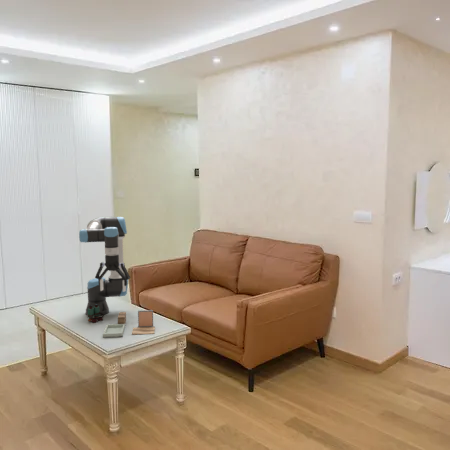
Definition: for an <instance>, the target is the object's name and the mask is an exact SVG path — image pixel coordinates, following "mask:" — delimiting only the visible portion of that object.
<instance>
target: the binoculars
mask: <svg viewBox="0 0 450 450" xmlns="http://www.w3.org/2000/svg"><path fill="white" fill-rule="evenodd" d="M89 307H90V308H89V309H88V315H87V318H88V322H91V323H97V322H101V321H103V320H104V319H103V318H104V317H105V316H104V315H105V314H103V313H100V309H99V306H98V303H96V304H95V307H93V306H92V305H89ZM92 307H93V308H92ZM100 314H101V315H100Z"/></svg>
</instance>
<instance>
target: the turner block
mask: <svg viewBox="0 0 450 450" xmlns="http://www.w3.org/2000/svg"><path fill="white" fill-rule="evenodd" d="M126 323H127V312H126V311H119V312H118V315H117V324H125V325H126Z"/></svg>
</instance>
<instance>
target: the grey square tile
mask: <svg viewBox="0 0 450 450" xmlns="http://www.w3.org/2000/svg"><path fill="white" fill-rule="evenodd" d="M137 319H138V320H137V323H138V325H137V326H138V327H154V310H153V309H146V310H138V311H137Z"/></svg>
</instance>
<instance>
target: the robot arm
mask: <svg viewBox="0 0 450 450" xmlns="http://www.w3.org/2000/svg"><path fill="white" fill-rule="evenodd" d="M126 234H128V230H127V224H126V219H125V217H123V216H105V217H103V216H102V217H97V218H95V219H92V220H90V221H89V222H88V223H87V224H86V229H85V228H83V229H80V230H79V233H78V235H79V236H78V238H79V242H80V243H103V242H104V254H105V256H104V261H105V262H104V261H102V262H100V263H99V267H98V269H97V271H96V274H95V277H94V278H92V279H90V280H88V281H87V287H86V289H87V305H86V308H85V315H87V316H88V309H89V308H90V307H89V305H92V306H93V307H95V304H96V303H98V306H99V309H100V313H103V314H104V315H107V314H108V313H110V308H109V305H108V303H107V298H111V297H112V298H113V297H126V296H127V294H128V285H129V279H131V276H130V274H129V272H128V270H127V268H126V267H125V266H126V265H125V262H124V249H123V248H124V245H123V244H124V241H123V240H124V238H125V237H126ZM104 267H105V269H104ZM103 269H104V270H103ZM108 271H109V272H110V275H109V276H108V279H106V277H104V276H105V275H106V274H107V272H108ZM93 307H92V308H93ZM99 316H102V315H101V314H100V315H99Z"/></svg>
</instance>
